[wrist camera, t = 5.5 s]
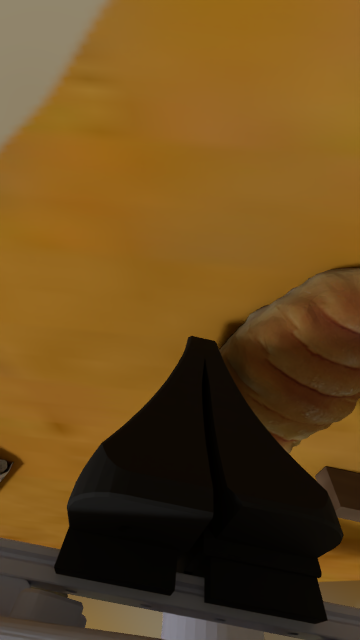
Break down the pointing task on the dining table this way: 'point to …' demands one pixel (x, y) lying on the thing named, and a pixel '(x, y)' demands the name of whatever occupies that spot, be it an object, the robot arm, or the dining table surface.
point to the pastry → (301, 357)
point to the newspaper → (3, 469)
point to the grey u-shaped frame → (342, 491)
